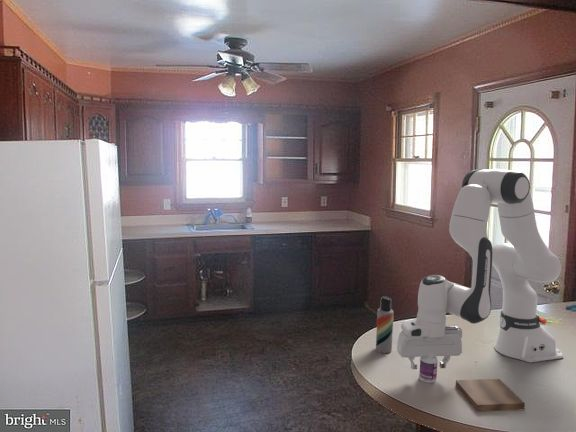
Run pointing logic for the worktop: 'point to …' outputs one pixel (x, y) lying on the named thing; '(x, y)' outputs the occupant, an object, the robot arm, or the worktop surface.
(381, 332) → the lotion bottle
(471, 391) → the walnut board
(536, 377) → the worktop surface
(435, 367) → the pill bottle
